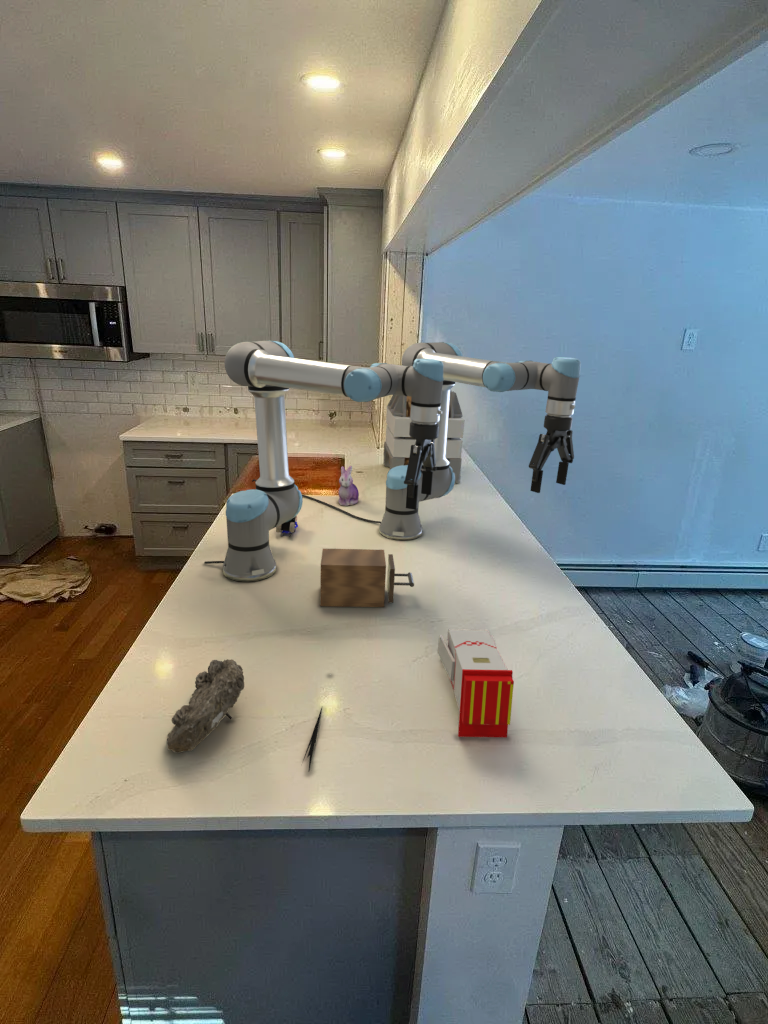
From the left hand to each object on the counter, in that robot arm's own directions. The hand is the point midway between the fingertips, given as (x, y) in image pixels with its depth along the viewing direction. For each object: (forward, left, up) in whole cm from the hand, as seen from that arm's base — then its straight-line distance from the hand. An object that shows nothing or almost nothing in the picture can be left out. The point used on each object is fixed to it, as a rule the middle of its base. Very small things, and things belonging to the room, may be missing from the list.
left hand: (418, 501), depth 151 cm
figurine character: (-54, +20, -27) cm, 64 cm away
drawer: (-8, -9, -26) cm, 28 cm away
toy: (+27, -37, -27) cm, 53 cm away
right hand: (+29, +29, +1) cm, 41 cm away
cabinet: (-13, -12, -27) cm, 32 cm away
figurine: (-51, +58, -27) cm, 82 cm away
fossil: (-15, -67, -27) cm, 73 cm away
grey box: (-42, +115, -27) cm, 125 cm away
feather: (+4, -58, -27) cm, 64 cm away
